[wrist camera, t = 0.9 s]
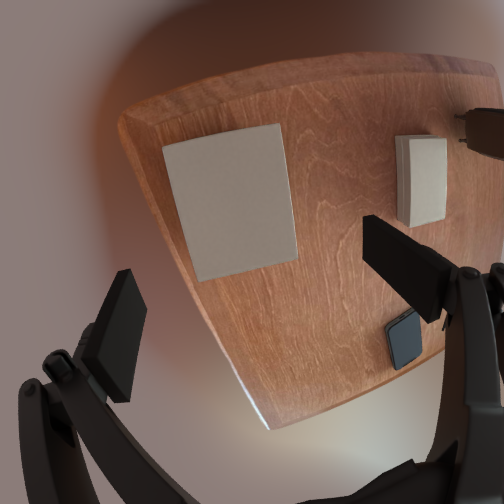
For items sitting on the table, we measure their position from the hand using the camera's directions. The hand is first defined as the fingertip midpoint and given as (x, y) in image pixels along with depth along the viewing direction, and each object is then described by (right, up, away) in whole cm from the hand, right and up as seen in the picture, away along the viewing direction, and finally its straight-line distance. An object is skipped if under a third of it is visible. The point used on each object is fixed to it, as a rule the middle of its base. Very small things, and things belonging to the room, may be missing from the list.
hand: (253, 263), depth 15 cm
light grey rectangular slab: (-2, +5, +11) cm, 12 cm away
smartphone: (+30, -16, +33) cm, 48 cm away
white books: (+23, +11, +19) cm, 32 cm away
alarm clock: (+35, +21, +17) cm, 45 cm away
